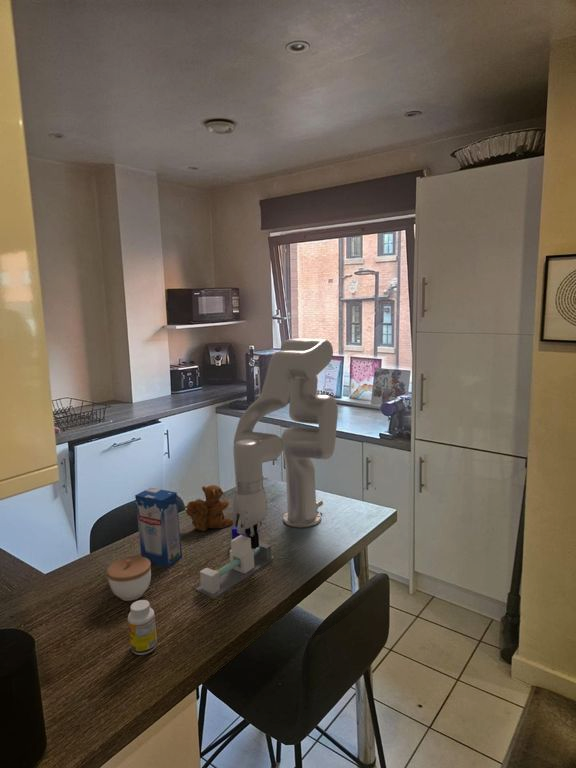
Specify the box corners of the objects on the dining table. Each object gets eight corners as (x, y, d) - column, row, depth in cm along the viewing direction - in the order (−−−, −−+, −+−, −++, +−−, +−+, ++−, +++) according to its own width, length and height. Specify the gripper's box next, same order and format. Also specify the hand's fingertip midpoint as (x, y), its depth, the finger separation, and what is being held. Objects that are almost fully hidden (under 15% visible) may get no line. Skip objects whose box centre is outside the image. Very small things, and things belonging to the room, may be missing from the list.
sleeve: (240, 561, 146) (238, 534, 144) (254, 567, 142) (252, 538, 141) (230, 568, 142) (228, 539, 141) (244, 573, 139) (242, 544, 138)
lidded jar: (109, 588, 136) (105, 555, 135) (151, 578, 140) (147, 546, 138) (110, 610, 127) (106, 575, 125) (155, 599, 130) (152, 565, 129)
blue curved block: (238, 529, 167) (237, 512, 166) (251, 530, 167) (250, 512, 166) (227, 547, 156) (226, 529, 155) (242, 548, 155) (241, 529, 154)
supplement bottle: (132, 641, 115) (127, 599, 113) (158, 637, 116) (154, 595, 114) (129, 658, 109) (125, 614, 108) (156, 653, 110) (152, 610, 109)
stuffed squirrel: (236, 524, 171) (233, 486, 169) (198, 537, 163) (195, 498, 160) (220, 514, 179) (217, 478, 177) (183, 527, 170) (180, 489, 168)
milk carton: (141, 560, 150) (134, 495, 147) (156, 550, 156) (150, 487, 152) (168, 567, 146) (162, 500, 142) (182, 557, 151) (176, 492, 147)
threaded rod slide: (256, 551, 152) (255, 534, 151) (275, 558, 148) (274, 541, 147) (195, 589, 134) (193, 571, 133) (214, 598, 129) (213, 579, 129)
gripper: (257, 474, 150) (260, 533, 153) (220, 490, 139) (224, 554, 142) (277, 478, 146) (280, 539, 149) (240, 496, 134) (244, 561, 137)
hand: (253, 546), depth 145 cm, fingers closed
